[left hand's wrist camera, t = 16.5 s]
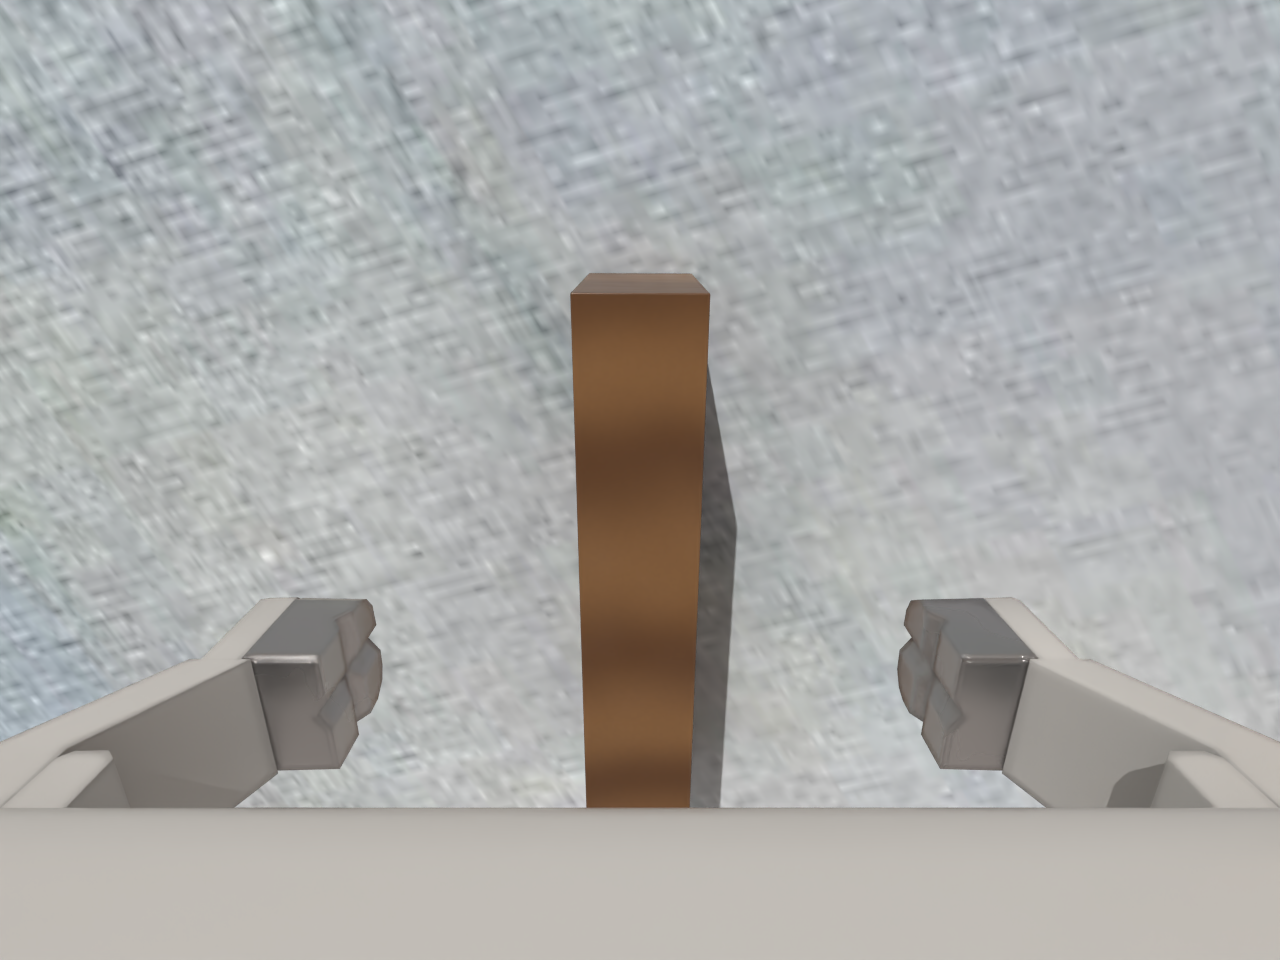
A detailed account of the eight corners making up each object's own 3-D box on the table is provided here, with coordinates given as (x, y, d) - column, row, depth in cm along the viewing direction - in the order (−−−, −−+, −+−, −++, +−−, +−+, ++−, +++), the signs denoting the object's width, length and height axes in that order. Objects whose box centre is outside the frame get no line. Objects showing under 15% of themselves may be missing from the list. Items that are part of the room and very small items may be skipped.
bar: (589, 273, 30) (570, 292, 22) (692, 273, 30) (710, 293, 22) (599, 763, 40) (589, 897, 32) (677, 763, 40) (686, 897, 32)
